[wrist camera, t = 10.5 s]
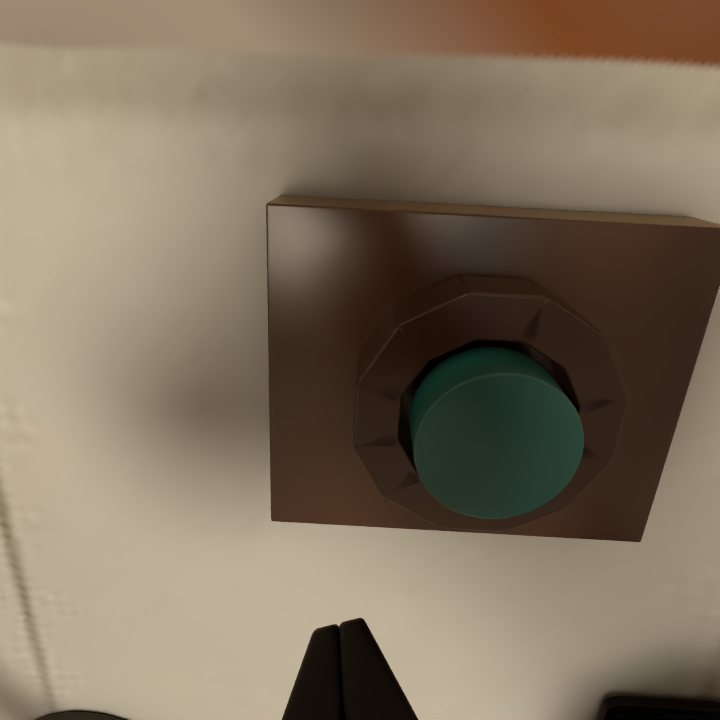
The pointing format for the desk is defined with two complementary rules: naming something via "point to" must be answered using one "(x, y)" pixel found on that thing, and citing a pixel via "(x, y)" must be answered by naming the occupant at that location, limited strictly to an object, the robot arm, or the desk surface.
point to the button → (494, 433)
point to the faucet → (79, 716)
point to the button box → (474, 330)
